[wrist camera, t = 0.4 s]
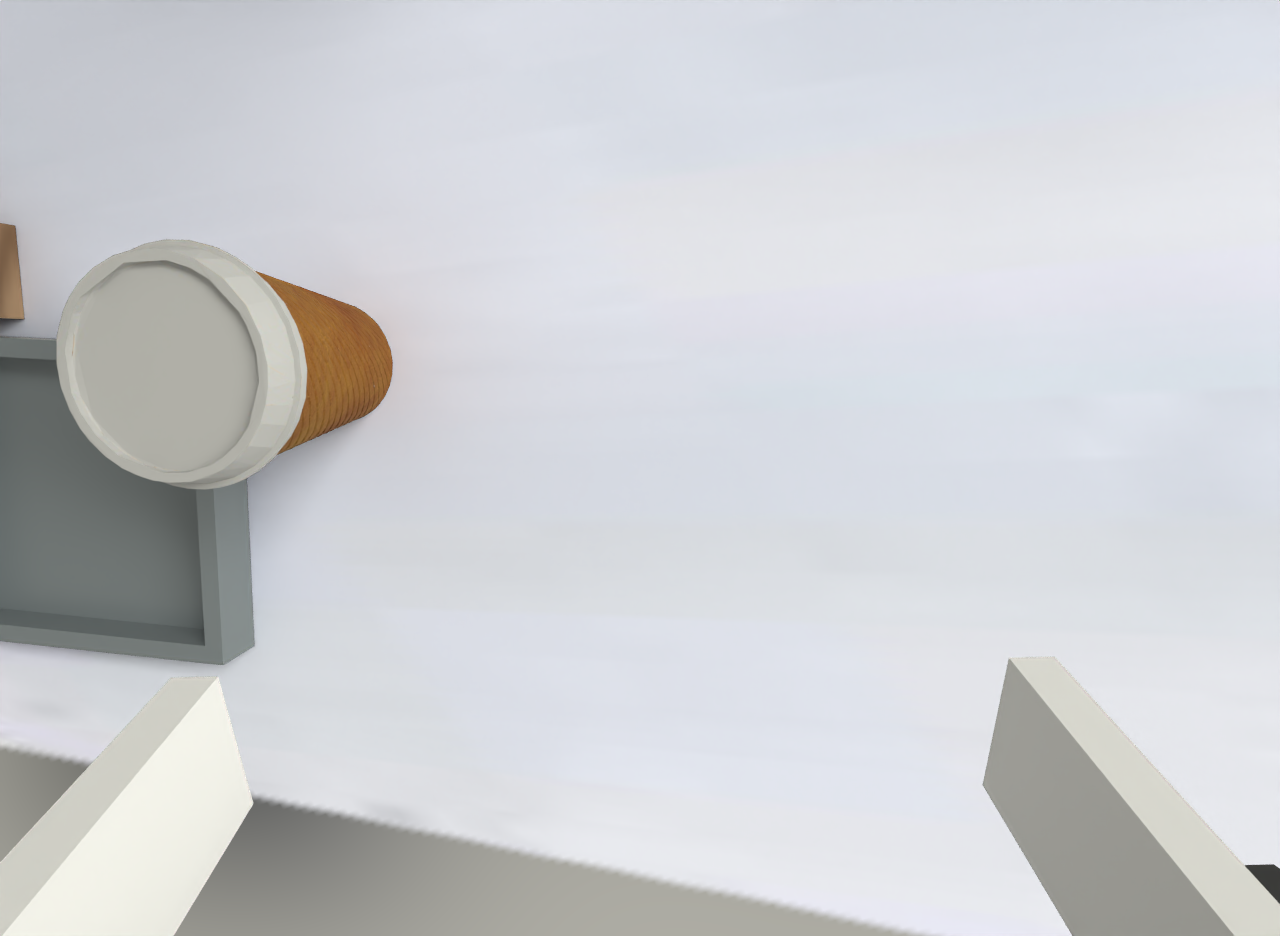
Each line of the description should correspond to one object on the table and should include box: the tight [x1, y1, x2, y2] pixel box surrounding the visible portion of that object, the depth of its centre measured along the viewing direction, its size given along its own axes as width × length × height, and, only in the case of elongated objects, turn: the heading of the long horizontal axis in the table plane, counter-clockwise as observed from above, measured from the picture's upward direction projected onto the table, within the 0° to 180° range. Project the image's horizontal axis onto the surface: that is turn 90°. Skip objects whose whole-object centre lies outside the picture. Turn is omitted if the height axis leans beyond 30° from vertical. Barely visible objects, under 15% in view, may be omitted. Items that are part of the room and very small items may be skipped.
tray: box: [0, 336, 254, 665], centre depth 40 cm, size 17×17×3 cm
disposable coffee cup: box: [57, 239, 393, 490], centre depth 32 cm, size 10×10×12 cm
